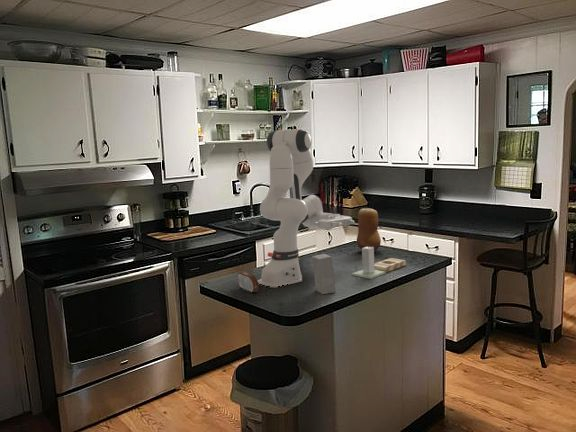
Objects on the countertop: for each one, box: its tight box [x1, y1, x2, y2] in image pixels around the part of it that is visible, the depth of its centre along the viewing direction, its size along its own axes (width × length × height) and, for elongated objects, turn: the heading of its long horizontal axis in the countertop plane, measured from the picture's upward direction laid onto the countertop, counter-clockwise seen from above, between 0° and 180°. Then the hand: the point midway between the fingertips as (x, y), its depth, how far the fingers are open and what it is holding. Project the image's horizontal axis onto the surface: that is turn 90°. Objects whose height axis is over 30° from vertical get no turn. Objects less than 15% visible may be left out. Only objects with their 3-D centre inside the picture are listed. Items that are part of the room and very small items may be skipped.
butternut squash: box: [356, 207, 382, 252], centre depth 279 cm, size 14×13×25 cm
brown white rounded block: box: [237, 270, 260, 293], centre depth 220 cm, size 15×3×8 cm, turn 34°
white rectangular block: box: [361, 247, 375, 274], centre depth 234 cm, size 4×4×12 cm
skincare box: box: [311, 253, 336, 295], centre depth 212 cm, size 8×7×16 cm
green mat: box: [351, 269, 386, 280], centre depth 235 cm, size 11×11×1 cm
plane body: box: [374, 257, 407, 274], centre depth 246 cm, size 17×9×2 cm, turn 133°
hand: (347, 223), depth 244 cm, fingers open, 8 cm apart
